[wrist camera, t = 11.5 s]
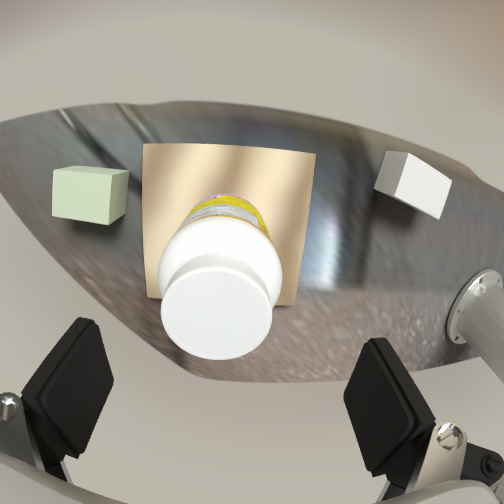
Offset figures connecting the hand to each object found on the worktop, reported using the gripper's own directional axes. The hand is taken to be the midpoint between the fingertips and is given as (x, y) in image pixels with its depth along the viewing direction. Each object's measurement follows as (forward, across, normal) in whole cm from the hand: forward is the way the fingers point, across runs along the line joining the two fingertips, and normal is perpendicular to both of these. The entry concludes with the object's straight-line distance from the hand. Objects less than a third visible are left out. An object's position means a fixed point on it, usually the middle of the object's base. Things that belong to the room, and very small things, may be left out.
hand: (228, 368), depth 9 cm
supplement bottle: (+16, +1, 0) cm, 16 cm away
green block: (+17, +13, -3) cm, 22 cm away
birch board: (+17, +1, 0) cm, 17 cm away
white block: (+18, -16, -6) cm, 24 cm away
